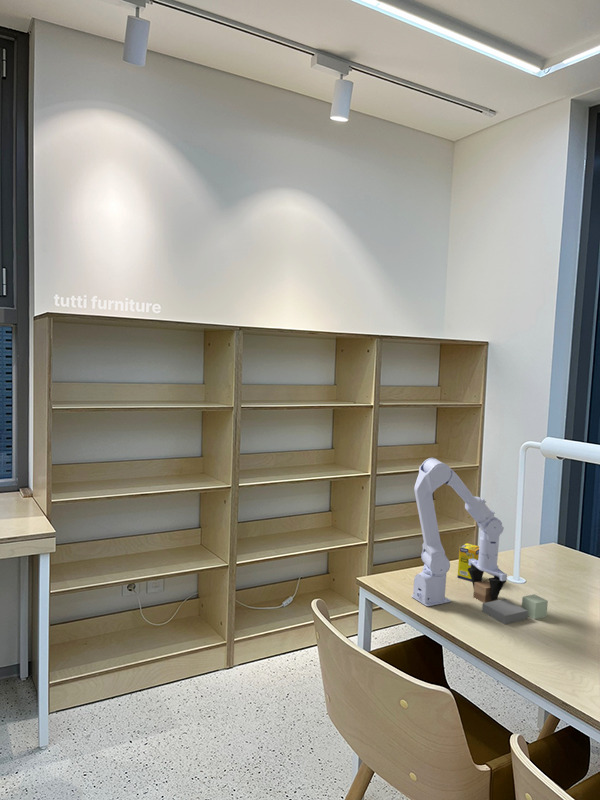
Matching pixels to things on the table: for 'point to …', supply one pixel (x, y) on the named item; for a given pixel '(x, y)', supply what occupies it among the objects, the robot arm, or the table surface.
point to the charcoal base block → (504, 611)
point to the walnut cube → (482, 591)
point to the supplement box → (466, 560)
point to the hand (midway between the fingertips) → (485, 594)
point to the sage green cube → (535, 606)
